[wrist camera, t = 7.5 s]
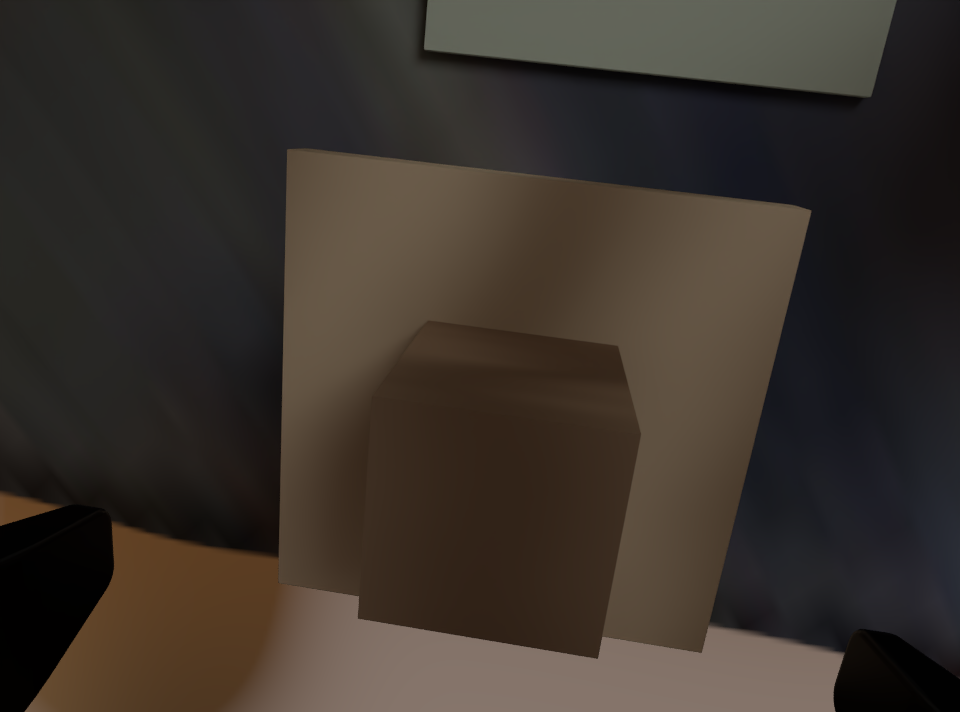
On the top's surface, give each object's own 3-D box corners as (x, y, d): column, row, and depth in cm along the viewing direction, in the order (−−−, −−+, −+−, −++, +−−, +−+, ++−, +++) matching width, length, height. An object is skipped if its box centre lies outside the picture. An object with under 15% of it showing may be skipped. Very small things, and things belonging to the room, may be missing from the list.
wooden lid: (793, 205, 13) (932, 246, 8) (693, 620, 15) (750, 836, 11) (307, 148, 13) (163, 154, 9) (294, 556, 16) (182, 732, 11)
